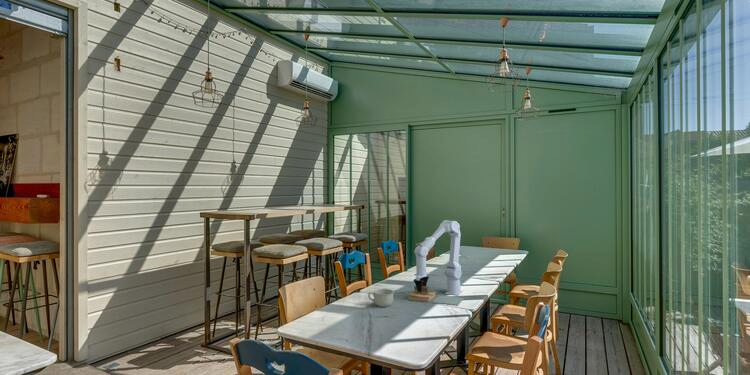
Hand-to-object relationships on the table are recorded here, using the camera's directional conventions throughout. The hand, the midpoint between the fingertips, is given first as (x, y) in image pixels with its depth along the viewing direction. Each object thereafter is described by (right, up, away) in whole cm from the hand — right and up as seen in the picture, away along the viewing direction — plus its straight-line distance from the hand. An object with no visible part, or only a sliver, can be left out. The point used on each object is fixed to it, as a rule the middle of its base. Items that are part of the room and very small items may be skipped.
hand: (421, 290), depth 227 cm
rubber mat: (+14, -4, -7) cm, 16 cm away
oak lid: (0, -3, 0) cm, 3 cm away
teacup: (-24, -5, -13) cm, 28 cm away
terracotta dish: (0, -5, 0) cm, 5 cm away
